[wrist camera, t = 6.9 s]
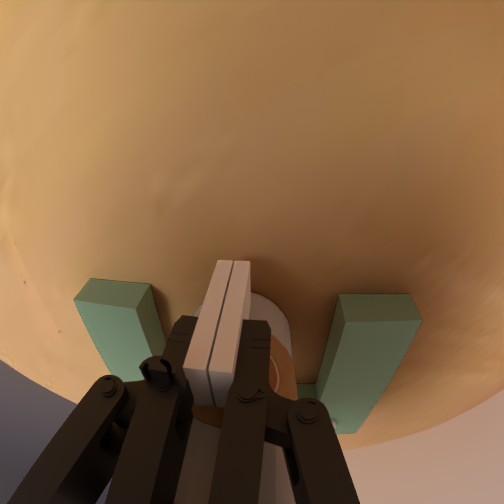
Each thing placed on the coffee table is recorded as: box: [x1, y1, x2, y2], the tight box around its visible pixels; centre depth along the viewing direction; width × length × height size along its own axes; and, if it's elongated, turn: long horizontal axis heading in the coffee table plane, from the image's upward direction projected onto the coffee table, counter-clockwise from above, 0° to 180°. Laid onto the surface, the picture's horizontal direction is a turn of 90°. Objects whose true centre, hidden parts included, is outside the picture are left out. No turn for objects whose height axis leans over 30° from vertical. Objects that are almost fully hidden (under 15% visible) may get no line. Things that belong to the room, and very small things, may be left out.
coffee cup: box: [174, 292, 298, 504], centre depth 12 cm, size 8×8×15 cm
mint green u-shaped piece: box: [74, 278, 423, 434], centre depth 20 cm, size 16×22×3 cm
